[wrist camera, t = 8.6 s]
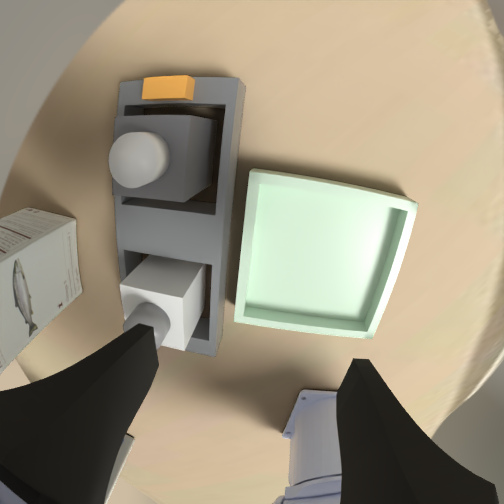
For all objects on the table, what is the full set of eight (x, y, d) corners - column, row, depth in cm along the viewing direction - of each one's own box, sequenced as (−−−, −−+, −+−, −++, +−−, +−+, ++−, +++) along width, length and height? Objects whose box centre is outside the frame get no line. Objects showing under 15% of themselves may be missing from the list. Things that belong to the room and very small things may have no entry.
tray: (367, 324, 20) (371, 338, 18) (237, 307, 20) (233, 321, 19) (407, 197, 16) (418, 203, 14) (253, 168, 16) (249, 171, 15)
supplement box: (85, 293, 22) (-2, 384, 10) (35, 271, 22) (-46, 338, 11) (79, 216, 19) (-44, 293, 7) (27, 203, 19) (-76, 258, 8)
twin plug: (204, 306, 21) (177, 367, 15) (156, 296, 21) (117, 350, 15) (206, 259, 19) (173, 314, 13) (153, 250, 19) (106, 297, 13)
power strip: (222, 335, 22) (211, 368, 18) (142, 318, 22) (123, 345, 19) (246, 86, 14) (234, 72, 11) (140, 87, 15) (109, 79, 11)
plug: (211, 184, 17) (171, 211, 11) (153, 178, 17) (95, 202, 11) (217, 120, 15) (178, 113, 9) (157, 118, 16) (96, 116, 10)
